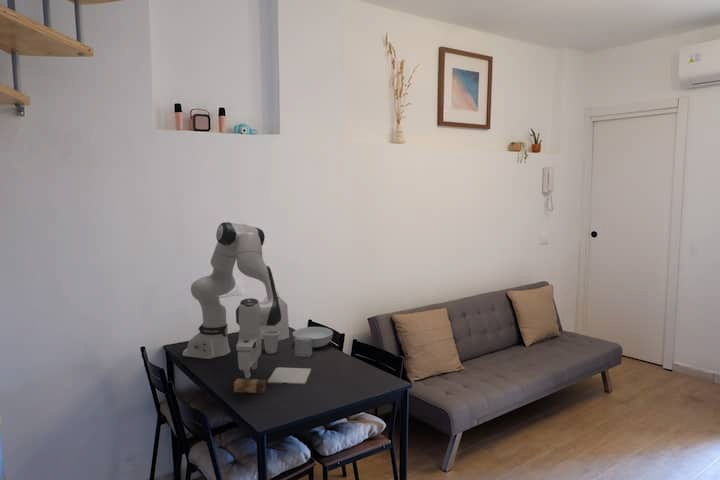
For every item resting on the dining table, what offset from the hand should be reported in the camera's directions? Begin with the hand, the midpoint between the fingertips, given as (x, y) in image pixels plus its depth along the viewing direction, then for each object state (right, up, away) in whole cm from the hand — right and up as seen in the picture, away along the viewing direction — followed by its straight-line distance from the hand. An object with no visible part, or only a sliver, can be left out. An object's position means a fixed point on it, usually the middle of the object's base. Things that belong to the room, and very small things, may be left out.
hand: (251, 372), depth 198 cm
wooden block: (0, -7, +1) cm, 7 cm away
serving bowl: (+20, -1, +57) cm, 61 cm away
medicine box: (+16, -3, +41) cm, 45 cm away
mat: (+14, -6, +16) cm, 22 cm away
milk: (-3, 0, +69) cm, 69 cm away
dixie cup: (0, -2, +47) cm, 47 cm away
